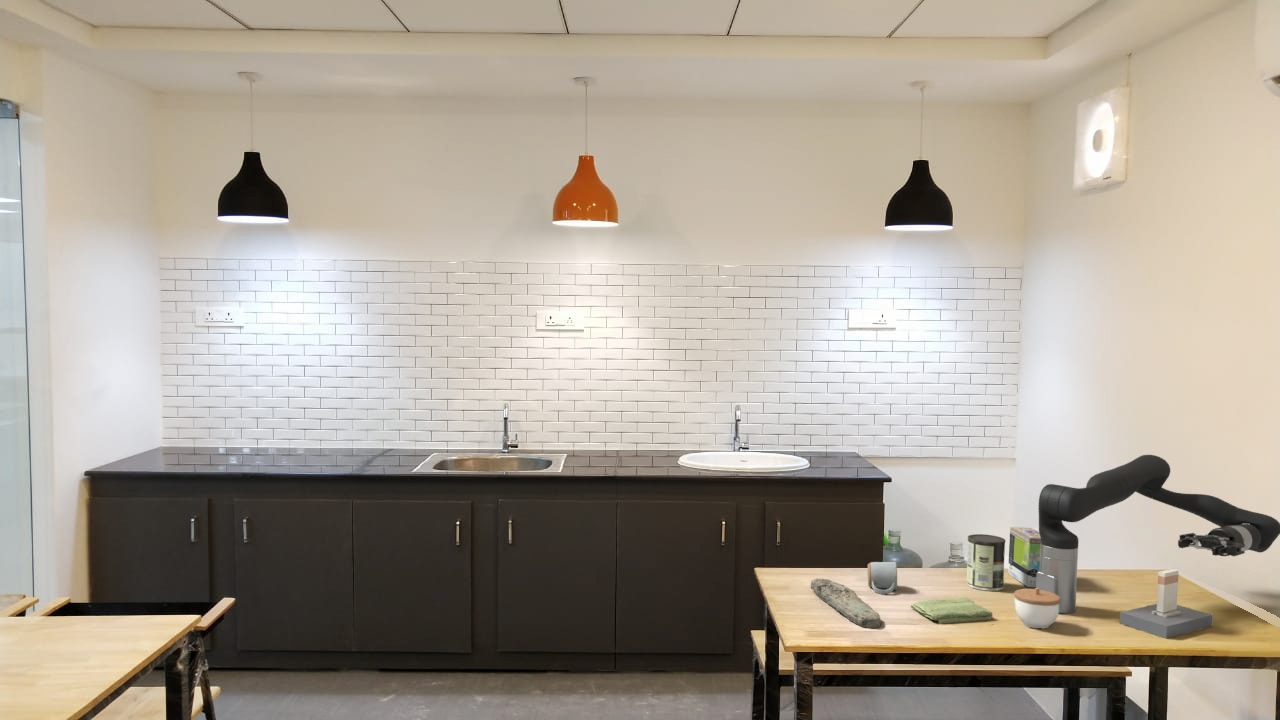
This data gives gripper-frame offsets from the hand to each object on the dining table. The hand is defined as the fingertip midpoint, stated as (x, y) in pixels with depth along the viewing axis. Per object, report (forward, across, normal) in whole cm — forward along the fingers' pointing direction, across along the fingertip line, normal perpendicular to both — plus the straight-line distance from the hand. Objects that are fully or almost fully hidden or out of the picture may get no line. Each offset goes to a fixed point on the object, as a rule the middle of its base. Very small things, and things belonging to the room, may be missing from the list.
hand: (1196, 547), depth 240 cm
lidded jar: (+42, +16, -19) cm, 49 cm away
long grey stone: (+76, +50, -18) cm, 93 cm away
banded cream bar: (+12, +1, -19) cm, 22 cm away
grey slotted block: (+12, +1, -19) cm, 22 cm away
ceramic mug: (+55, +57, -18) cm, 81 cm away
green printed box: (+8, +42, -19) cm, 47 cm away
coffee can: (+25, +46, -19) cm, 55 cm away
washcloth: (+55, +32, -19) cm, 67 cm away
